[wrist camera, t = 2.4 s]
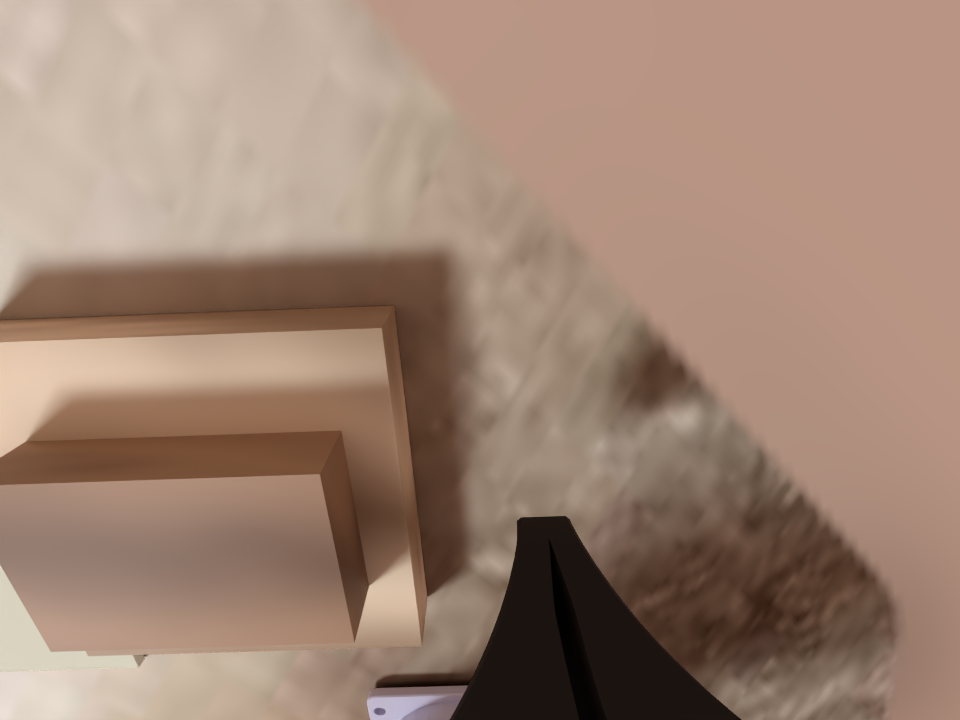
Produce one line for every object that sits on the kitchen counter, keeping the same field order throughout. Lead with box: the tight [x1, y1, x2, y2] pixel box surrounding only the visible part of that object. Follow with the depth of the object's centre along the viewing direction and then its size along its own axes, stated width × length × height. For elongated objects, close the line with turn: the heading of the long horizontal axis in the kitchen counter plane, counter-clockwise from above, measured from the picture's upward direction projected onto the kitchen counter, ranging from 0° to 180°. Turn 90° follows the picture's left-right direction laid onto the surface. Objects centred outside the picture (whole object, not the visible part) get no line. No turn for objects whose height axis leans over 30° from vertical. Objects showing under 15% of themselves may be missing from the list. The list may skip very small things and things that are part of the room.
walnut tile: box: [0, 431, 369, 652], centre depth 14 cm, size 6×9×2 cm, turn 92°
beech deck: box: [0, 305, 427, 656], centre depth 16 cm, size 12×12×2 cm
